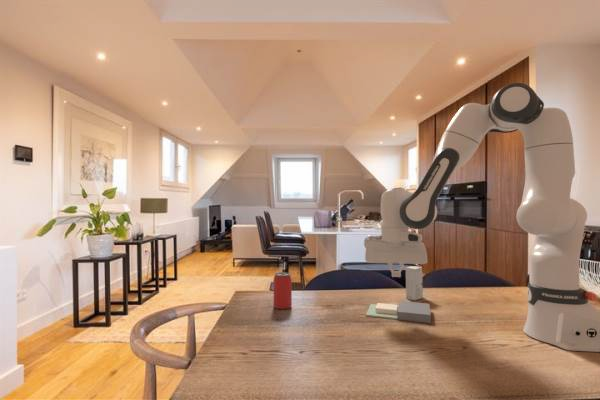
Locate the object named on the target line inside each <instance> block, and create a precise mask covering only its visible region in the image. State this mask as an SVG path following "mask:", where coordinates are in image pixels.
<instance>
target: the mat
mask: <svg viewBox="0 0 600 400" xmlns="http://www.w3.org/2000/svg"><path fill="white" fill-rule="evenodd" d="M376 305H377V303H376V304H374V303H370V304H369V307H368V309H367V311H366V314H365V316H366V317H371V318H379V319H380V318H381V319H390V320H398V319H397V315H395V314H386V313H376V312H375V308H376Z"/></svg>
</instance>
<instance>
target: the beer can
mask: <svg viewBox="0 0 600 400" xmlns="http://www.w3.org/2000/svg"><path fill="white" fill-rule="evenodd" d="M272 282H273V308H275V309H276V310H288V309H290V308H291V307H292V305H293V303H292V301H293V300H292V297H293V296H292V277H291V274H290V273H289V272H283V271H282V272H276V273H274V277H273V281H272Z"/></svg>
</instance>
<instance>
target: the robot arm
mask: <svg viewBox="0 0 600 400" xmlns="http://www.w3.org/2000/svg"><path fill="white" fill-rule="evenodd" d="M445 128H446V129H445V130H444V132H443V133H442V136H441V138H440V140H439V142H438V144H437V147H436V151H435V153H434V155H433V160H432V163H431V165H430V167H429V168H428V170H427V172H426V173H425V176H423V178H422V180H421V182H420V184H419V186H418V187H417V189H416V190H415V191H414V192H411V191H408V190H407V189H405V187H393V188H390V189H387V190H385V191H384V192H383V193H382V195H381V197H380V216H381V217H380V218H381V226H380V228H381V229H380V230H381V235H368V236H367V237H365V238H364V242H363V243H364V244H363V245H364V248H365V256H364V257H365V258H364V260H365V261H366V262H367V264H369V263H370V264H387V267H388V269H389V270H390V272H391V277H392V278H394V277H395V278H401V277H402V274H401V273H402V271H403V269H404V267H405V266H404V265H405V264H406V265H408V264H409V265H426V264H427V263H428V253H427V249H426V246H425V243H424V242H423V235H422V234H421V233H417V232H415V231H410V230H409V228H410V229H414V230H420V229H424V228H425V229H426V228H427V227H428V226H429V225H430V224H431V223H433V222H434V221H435V220H436V218H437V217H438V211H439V210H438V206H437V205H436V203H437V201H438V199H439V196H440V194H441V193H442V191H443V189H444V187H445V186H446V185H447V182H448V181H449V179H450V177H451V176H452V175H453V174H454V173H455V172H456V171H457V170H459V169H460V168H462V167H463V166H465V165H466V164H467V163H468V162H469V161H470V160H471V159H472V157H473V156H474V154H476V152H477V150H478V148H479V146H480V145H481V143H482V141H483V139H484V138H485V136H486V135H487V134H488V132H489V133H502V134H508V133H514V132H516V131H519V132H520V133H521V135H522V139H523V150H524V167H525V169H524V170H525V171H524V172H525V179H524V180H525V181H524V185H523V186H524V187H523V193H522V198H521V203H520V205H519V207H518V208H517V210H516V217H515V218H516V221H517V224H518V226H519V227H520V228H521V229H522V230H523V231H524V232H526V233H528V234H530V235H533V236H534V237H535V238H534V241H533V246H532V249H531V251H530V252H529V257H528V262H529V263H528V267H529V268H528V270H529V282H527V288H526V289H527V290H526V294H527V298H526V299H527V303H528V310H527V314H526V315H527V317H526V320H525V323H524V327H523V329H522V331H523V332H524V333H525V334H526V335H527V336H529V337H530V338H533V339H535V340H537V341H540V342H544V343H547V344H550V345H554V346H556V347H558V348H561V349H564V350H565V351H566V350H567V351H579V352H595V353H600V310H599V309H598V308H596V307H595V306H594V305H592V304H591V303H589V301H590V302H591V301H592V302H596V300H597V299H598V295H597V294H596V293H594V292H592V291H587V290H585V289H583V288H582V287H580V257H581V250H582V245H583V240H584V232H585V226H586V222H587V218H588V212H587V210H586V208H585V206H583V204H581V203H580V202H579V201H577V200H576V199H574V198H571V191H572V184H573V179H574V178H575V174H576V167H575V166H576V165H575V164H576V163H575V151H574V150H575V149H574V139H573V133H572V132H573V131H572V127H571V124H570V120H569V118H568V114H567V112H566V111H564V110H563V109H561V108H557V107H545V103H544V101H543V100H542V99H541V98H540V97H539V96H538V95H537V93H536V92H535V90H534V89H533V88H532V87H531V86H530V85H528V84H526V83H523V82H512V83H509V84H506V85H504V86H502V87H501V88H500V89H499V90H498V91H497V92H496V93H495V94H494V95H493V97H492V100H491V103H488V104H481V103H476V102H469V103H466V104H463V105H462V106H461V107H460V108H459V110H458V111H457V112H456V113H455V114H454V115H453V117H452V119H451V120H450V121H449V123H448V124H447V126H446V127H445ZM393 264H397V265H398V264H399V270H394V268H393Z"/></svg>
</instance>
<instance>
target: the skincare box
mask: <svg viewBox="0 0 600 400" xmlns="http://www.w3.org/2000/svg"><path fill="white" fill-rule="evenodd" d="M423 286H424V285H423V267H422V266H416V265H411V266H407V267H405V293H406V294H405V299H407V300H410V301H411V300H412V301H417V300H420V299H423V297H424V292H423V291H424V289H423V288H424V287H423Z"/></svg>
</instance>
